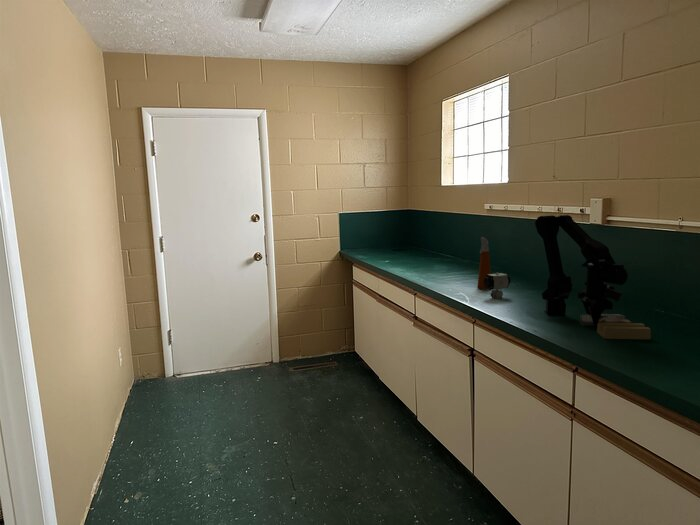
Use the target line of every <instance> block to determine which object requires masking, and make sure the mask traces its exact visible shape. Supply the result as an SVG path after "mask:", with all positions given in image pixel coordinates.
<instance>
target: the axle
mask: <svg viewBox="0 0 700 525" xmlns="http://www.w3.org/2000/svg"><path fill="white" fill-rule="evenodd" d="M579 316H580V317H579V323H580V326H583V327H584V326H587V327H588V326H589V327H591V326H592V327H598V324H597V325H594V323H593V321H592V317H591V315H587V314H580V315H579ZM604 319H612V320H627V319H626V316H625V315H624V314H620V315H601V316H600V319H599V321H598V323H603V321H604Z"/></svg>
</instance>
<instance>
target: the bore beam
mask: <svg viewBox="0 0 700 525" xmlns="http://www.w3.org/2000/svg"><path fill="white" fill-rule="evenodd" d="M601 315H621V314H619V313H602V314H601ZM603 323H632V321H630V320H629V319H626V320H612V319H604V321H603Z"/></svg>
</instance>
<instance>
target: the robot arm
mask: <svg viewBox="0 0 700 525" xmlns="http://www.w3.org/2000/svg"><path fill="white" fill-rule="evenodd" d="M534 225H535V228H536V232H537V234H538V235H539V236H540V238H542V240H543V246H544V251H545V256H546V261H547V266H548V271H549V277H548V280H547V288H546V289H545V290H544V291H543V292H542V293H541V297H542V300H544V301H545V310H544V313H545V315H546V316H548V317H566V314H567V312H566V310H567V304H566V301H565V300H568V299H569V297H570V294H571V293H572V291H573V286H574V285H573V284H572V283H573V282H572V278H571V276H569V275H568V276H567V275H566V274H565V272H564V268H563V264H562V259H561V258H562V257H561V253H560V248H559V242H558V235H559V234H558V233H559V232H560V228H561V229H562V230H563V231H564V232H565V233H566V234H567V235H568V236H569V237H570V238H571V239H572V240H573V241H574V243H576V244H577V246H579V248H580V252H581V254H582V256H583V257H584V259H585V260H586V261H585V262H583V263H582V264H581V267H582V268H583V267H585V268H586V280H585V281H584V285H585V286H586V287H585V289H584V290H583V289H582V290H579V291H578V292H577V299H579V300H580V302H581V304H582V306H583V309H584V311H585V313H586V315H591V317H592V321H593V323H594V325H597V324H598V321H599V319H600V316H601V314H603V312H604V311H605V310H613V309H614V303H613V302H612V301H611V300H609V299H612V300H614V301H615V302H619V301H620V300H621V297H622V295H623V293H622V292H620V291H619V290H616V289H615V286H613V285H619V286H622V285H624V284H625V283H626V282H627V280H628V272H627V270H626V269H625V267H624V264H621V263H620V264H616V261H615V260H614V258H613V256H612V255H611V253H610V249H609V247H608V246H607V245H606V244H603V242H601V241H600V240H596V239H594V238H592V237H591V236H590V235H589V234H588V233H587V232H586V231H585V230H584V229H583V227H581V226H580V225H579V224H578V223H577V222H576V221H575V220H574V219H573V217H572V216H570V215H569V214H566V215H565V214H564V215H563V214H562V215H558V216H555V215H552V214H551V215H540V216H538V217H537V218H536V220H535V221H534ZM607 283H608V285H607ZM610 284H613V285H610ZM582 299H583V300H582Z"/></svg>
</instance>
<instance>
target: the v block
mask: <svg viewBox="0 0 700 525" xmlns="http://www.w3.org/2000/svg"><path fill="white" fill-rule="evenodd" d="M596 327H597V328H596V333H597V334H598V335H600V336H601V337H602V338H603V339H604V340H605V339H608V340H609V339H610V340H611V339H612V340H616V339H617V340H651V336H652V335H651V331H652V329H651V328H650V327H649V326H645V324H644V323H641V322H639V323H638V322H637V323H636V322H631V323H598V326H596Z"/></svg>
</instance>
